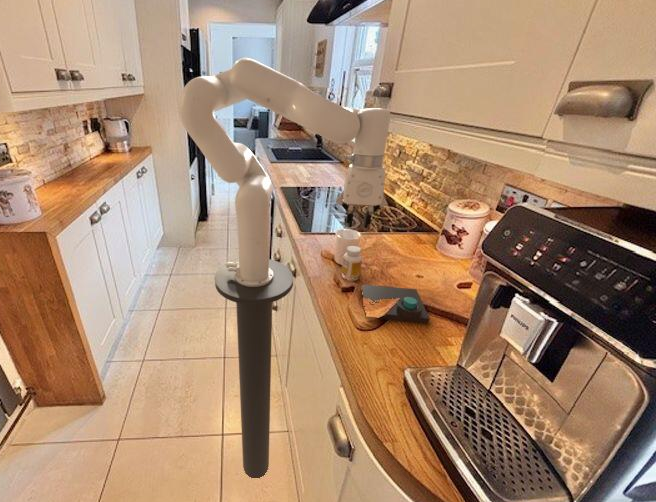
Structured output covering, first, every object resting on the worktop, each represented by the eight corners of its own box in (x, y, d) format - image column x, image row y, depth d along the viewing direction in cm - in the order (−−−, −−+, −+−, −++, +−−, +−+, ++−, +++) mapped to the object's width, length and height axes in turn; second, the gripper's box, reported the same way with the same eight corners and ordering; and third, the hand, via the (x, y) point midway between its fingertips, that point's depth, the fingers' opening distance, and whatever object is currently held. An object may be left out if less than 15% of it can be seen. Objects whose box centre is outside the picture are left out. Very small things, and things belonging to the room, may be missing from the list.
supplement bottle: (360, 274, 102) (364, 246, 97) (356, 283, 97) (361, 254, 93) (343, 270, 104) (346, 243, 99) (338, 278, 99) (342, 250, 95)
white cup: (347, 253, 114) (351, 227, 109) (361, 264, 107) (366, 236, 103) (328, 257, 111) (331, 231, 107) (341, 268, 105) (345, 240, 100)
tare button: (404, 309, 81) (405, 303, 80) (401, 301, 84) (403, 296, 83) (417, 310, 81) (418, 304, 80) (414, 303, 83) (415, 297, 82)
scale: (365, 318, 83) (367, 307, 81) (360, 289, 94) (362, 279, 93) (428, 325, 80) (432, 314, 79) (414, 294, 92) (417, 283, 90)
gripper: (335, 162, 82) (328, 229, 91) (404, 165, 79) (390, 233, 88) (334, 156, 89) (327, 219, 97) (398, 158, 86) (385, 222, 95)
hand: (357, 225), depth 93 cm, fingers open, 3 cm apart
